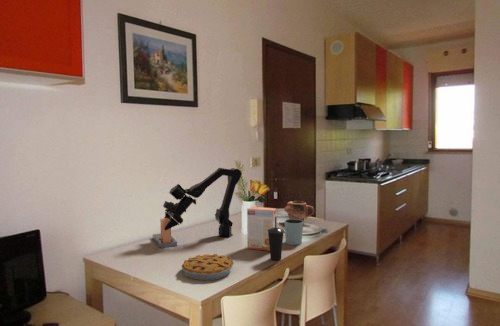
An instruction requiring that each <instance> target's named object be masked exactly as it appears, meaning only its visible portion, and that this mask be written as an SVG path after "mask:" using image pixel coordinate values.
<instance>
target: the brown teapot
mask: <svg viewBox="0 0 500 326" xmlns="http://www.w3.org/2000/svg"><path fill="white" fill-rule="evenodd" d="M310 209H311V213H310V214H308V213H309V212H308V210H310ZM283 210H284V212H285V213H287V215H288V219H300V220H303V222H304V223H305V219H308V218H309V217H311V216H312V215H314V213H315V208H314V207H313V206H312V205H308V204H307V203H306V202H305V201H302V200H294V201H288V202H287V204H286V206H285V207H284V209H283Z"/></svg>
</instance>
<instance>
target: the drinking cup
mask: <svg viewBox="0 0 500 326" xmlns="http://www.w3.org/2000/svg"><path fill="white" fill-rule="evenodd" d="M276 218H277V216H276V217H275V227H274V228H271V229H268V236H269V247H270V251H269V256H270V260H271V261H273V262H279V261H281V260H282V254H283V253H282V252H283V243H284V242H283V241H284V233H285V229H282V228H280V227H276Z"/></svg>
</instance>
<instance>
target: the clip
mask: <svg viewBox="0 0 500 326" xmlns="http://www.w3.org/2000/svg"><path fill="white" fill-rule="evenodd" d="M169 221H170V220H169V219H168V218H160V234H161V240H163V243H167V242H171V236H172V228H170V229H168V230H164V228H165V227H166V225H167V224H168V222H169Z"/></svg>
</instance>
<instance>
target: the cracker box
mask: <svg viewBox="0 0 500 326" xmlns="http://www.w3.org/2000/svg"><path fill="white" fill-rule="evenodd" d="M246 211H247V212H246V214H247V215H246V217H247V221H246V222H247V225H246V229H247V231H246V232H247V234H246V235H247V249H248V250H257V251H268V252H270V247H269V236H268V229H271V228H274V227H275V217H276V227H277V225H278V224H277V223H278V222H277V221H278V219H277V208H275V207H259V206H250V207H247V209H246ZM277 228H278V227H277Z"/></svg>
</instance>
